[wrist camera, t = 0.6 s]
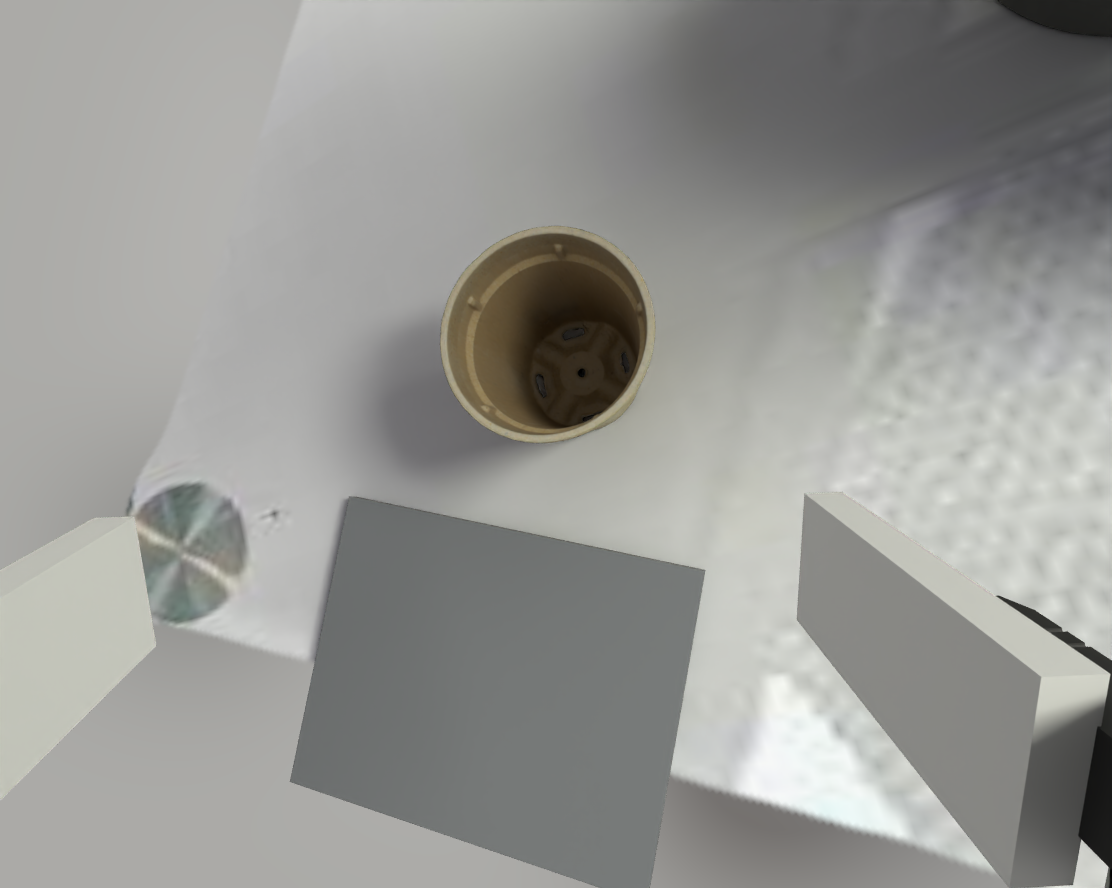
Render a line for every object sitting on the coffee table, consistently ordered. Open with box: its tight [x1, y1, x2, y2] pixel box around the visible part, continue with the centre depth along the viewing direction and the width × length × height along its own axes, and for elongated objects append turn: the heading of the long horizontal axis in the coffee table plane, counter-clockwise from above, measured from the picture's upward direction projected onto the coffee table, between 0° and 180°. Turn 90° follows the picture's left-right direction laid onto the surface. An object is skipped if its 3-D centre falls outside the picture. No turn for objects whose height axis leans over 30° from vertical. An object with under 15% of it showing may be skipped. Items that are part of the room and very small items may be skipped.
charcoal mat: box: [290, 496, 705, 888], centre depth 37 cm, size 20×16×1 cm
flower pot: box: [440, 226, 655, 443], centre depth 34 cm, size 9×9×9 cm
